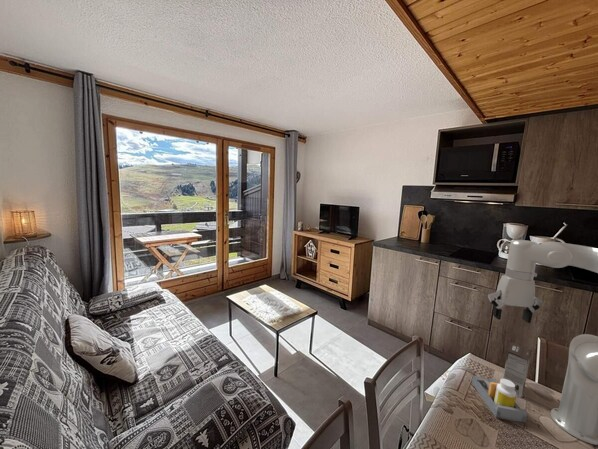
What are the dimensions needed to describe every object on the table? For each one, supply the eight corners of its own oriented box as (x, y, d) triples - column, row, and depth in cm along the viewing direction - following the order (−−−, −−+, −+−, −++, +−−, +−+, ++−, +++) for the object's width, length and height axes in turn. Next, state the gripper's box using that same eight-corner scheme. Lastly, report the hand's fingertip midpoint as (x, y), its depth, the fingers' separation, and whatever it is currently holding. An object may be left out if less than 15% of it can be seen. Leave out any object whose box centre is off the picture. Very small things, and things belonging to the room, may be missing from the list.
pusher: (493, 385, 98) (495, 370, 97) (506, 401, 90) (509, 386, 89) (477, 382, 99) (479, 368, 98) (489, 399, 91) (491, 383, 90)
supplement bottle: (516, 416, 85) (521, 390, 83) (498, 412, 86) (503, 386, 84) (507, 403, 90) (511, 378, 89) (490, 399, 91) (494, 375, 90)
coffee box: (504, 377, 104) (510, 341, 102) (525, 386, 99) (532, 349, 97) (500, 388, 98) (507, 350, 96) (522, 398, 93) (529, 359, 91)
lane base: (496, 386, 99) (497, 377, 98) (525, 422, 83) (527, 412, 82) (471, 382, 100) (473, 373, 99) (496, 417, 84) (497, 407, 84)
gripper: (538, 273, 91) (530, 317, 93) (486, 269, 94) (479, 311, 96) (555, 280, 84) (546, 328, 86) (498, 275, 86) (491, 321, 89)
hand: (511, 319), depth 91 cm, fingers open, 9 cm apart
